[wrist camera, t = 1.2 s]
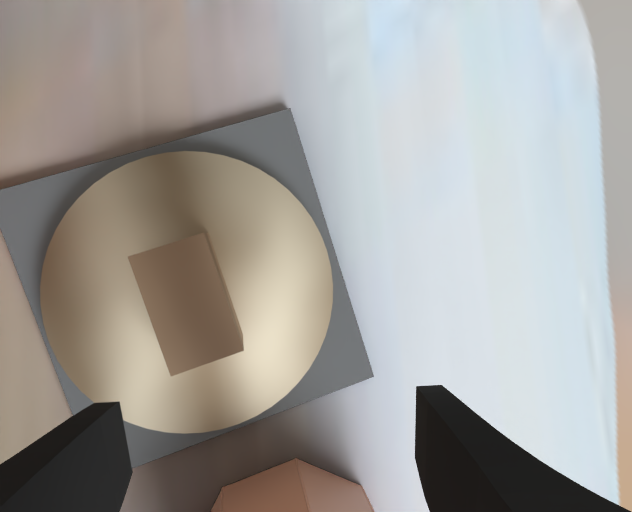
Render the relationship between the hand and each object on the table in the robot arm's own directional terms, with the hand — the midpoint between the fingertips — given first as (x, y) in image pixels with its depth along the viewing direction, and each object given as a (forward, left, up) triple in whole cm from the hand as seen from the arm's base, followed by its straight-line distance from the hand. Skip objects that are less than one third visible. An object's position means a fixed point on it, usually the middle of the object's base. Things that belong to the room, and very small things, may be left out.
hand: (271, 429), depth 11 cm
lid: (-2, +3, -11) cm, 12 cm away
